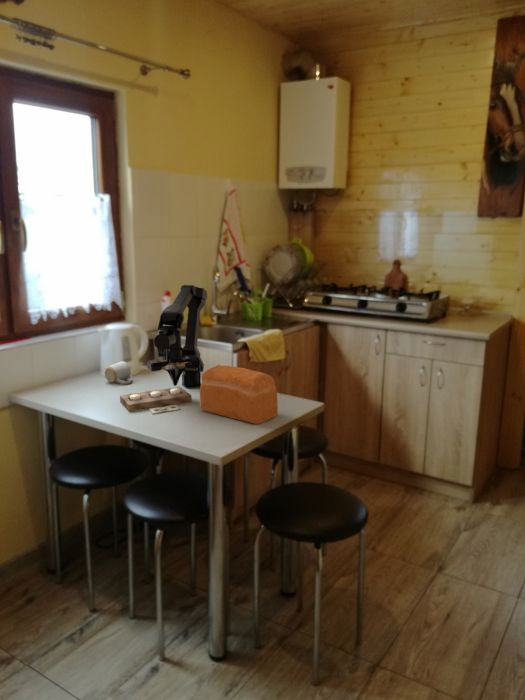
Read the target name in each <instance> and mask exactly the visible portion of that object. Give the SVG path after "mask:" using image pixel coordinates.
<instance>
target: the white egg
mask: <svg viewBox="0 0 525 700" xmlns="http://www.w3.org/2000/svg"><path fill="white" fill-rule="evenodd" d="M173 388H174V389H171V390H170V394H171V395H174V394H180V389H178V388H175V387H173Z"/></svg>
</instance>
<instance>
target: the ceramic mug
mask: <svg viewBox="0 0 525 700" xmlns="http://www.w3.org/2000/svg"><path fill="white" fill-rule="evenodd" d="M131 373H132V372H131V368H130V366H129V364H128V363H127V362H125V361H119V362H116V363H113V364H111V365H109V366H107V367H106V368H105V370H104V377H105V378H106V380H107V381H108V383H110V384H116V383H119V384H121V385H129V384H131V382H132V378H133V377H132V376H131V375H132V374H131ZM127 380H128V381H127Z"/></svg>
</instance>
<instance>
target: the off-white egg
mask: <svg viewBox="0 0 525 700" xmlns="http://www.w3.org/2000/svg"><path fill="white" fill-rule="evenodd" d="M152 391H153V392H151V393H150V395H151V398H154V397H161V393H160V392H159V391H154V390H152Z"/></svg>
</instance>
